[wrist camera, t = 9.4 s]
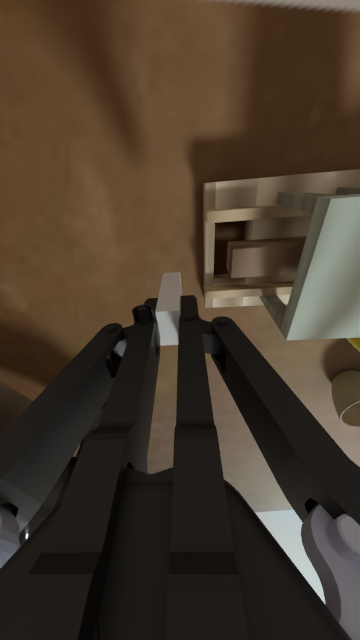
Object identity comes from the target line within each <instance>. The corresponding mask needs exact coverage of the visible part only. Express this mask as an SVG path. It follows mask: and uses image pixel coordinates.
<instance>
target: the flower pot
mask: <svg viewBox="0 0 360 640" xmlns="http://www.w3.org/2000/svg"><path fill="white" fill-rule="evenodd" d="M332 397H333V402H334V406H335V409H336V412H337V414H338V416H339V418H340V420H341V422H342V423H343V424H345V425H347V426H351V427H360V372H359V371H354V370H350V371H345V372H342V373H339V374H338V375H336V376H335V377H334V378H333V380H332Z"/></svg>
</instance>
